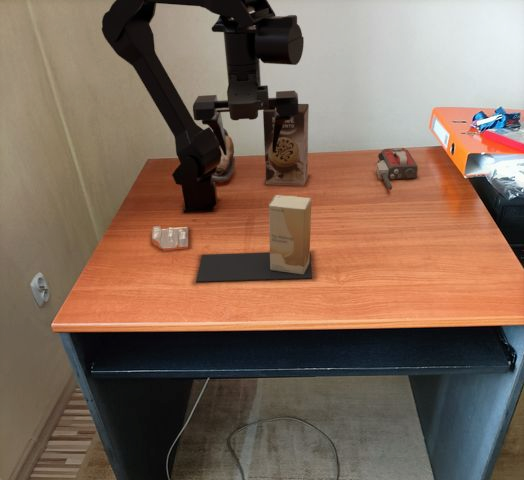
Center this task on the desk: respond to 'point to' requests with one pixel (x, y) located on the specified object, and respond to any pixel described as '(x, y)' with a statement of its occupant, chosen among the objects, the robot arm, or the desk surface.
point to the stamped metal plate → (170, 238)
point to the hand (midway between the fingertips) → (249, 153)
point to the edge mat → (243, 268)
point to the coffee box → (287, 149)
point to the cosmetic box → (289, 233)
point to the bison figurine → (225, 161)
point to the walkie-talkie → (396, 165)
